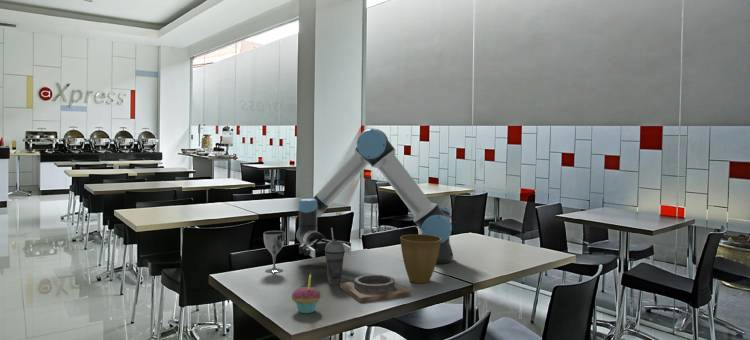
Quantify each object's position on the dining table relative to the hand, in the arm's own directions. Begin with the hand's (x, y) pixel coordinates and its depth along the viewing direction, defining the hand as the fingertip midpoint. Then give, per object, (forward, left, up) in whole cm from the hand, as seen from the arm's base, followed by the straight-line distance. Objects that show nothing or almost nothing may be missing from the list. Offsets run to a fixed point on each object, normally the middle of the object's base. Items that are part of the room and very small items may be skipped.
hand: (332, 252), depth 187 cm
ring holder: (-10, +16, -11) cm, 21 cm away
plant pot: (-31, +10, -11) cm, 34 cm away
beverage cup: (-1, +1, -11) cm, 11 cm away
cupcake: (+17, +26, -11) cm, 33 cm away
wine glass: (+15, -24, -11) cm, 31 cm away
